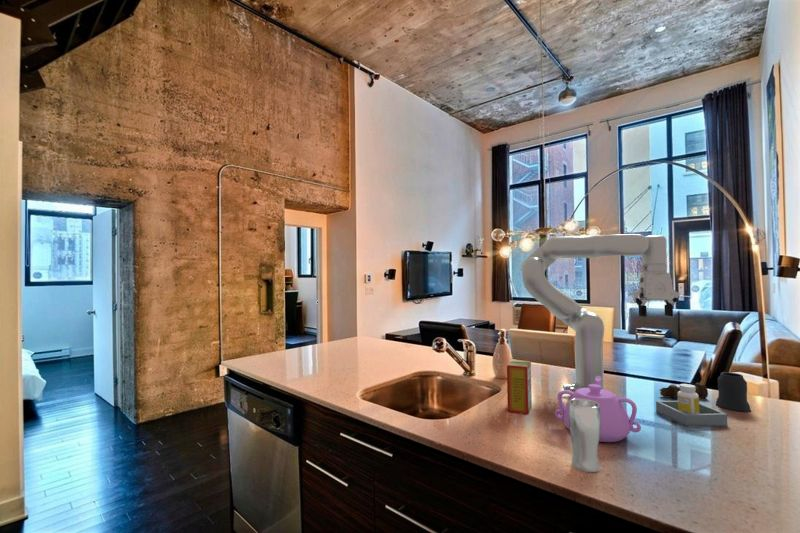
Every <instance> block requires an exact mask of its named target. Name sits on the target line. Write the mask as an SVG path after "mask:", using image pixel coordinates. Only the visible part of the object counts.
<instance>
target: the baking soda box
mask: <svg viewBox="0 0 800 533" xmlns="http://www.w3.org/2000/svg"><path fill="white" fill-rule="evenodd" d="M506 382H507V383H506V384H507V385H506V386H507V387H506V390H507V392H506V394H507V396H506V397H507V399H506V400H507V413H511V414H518V415H524V416H528V415H529V414H530V411H531V409H532V406H533V405H532V404H533V403H532V400H533V399H532V397H533V396H532V361H531V360H523V359H519V360H518V359H511V360H509V362H508V363H507V364H506Z"/></svg>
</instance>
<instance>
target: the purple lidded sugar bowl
mask: <svg viewBox="0 0 800 533" xmlns="http://www.w3.org/2000/svg"><path fill="white" fill-rule="evenodd" d="M588 386H589V388H580V389H577V390H576V391H575V392H572V391H570V390H564V389H563V390H560V392H558V394H557V403H558V406H559V408H558V409H556V410H555V412H554V415H555V418H557V419H558V420H561V421H563V422H564V425H565V426H567V428H568V429H569V430H570V427H569V401H570V400H572V399H587V400H592V401H595V402H597V403H598V404H599V405H600V406H599V407H600V416H601V433H600V439H599V443H615V442H620V441H622V440H623V439H625V438H626V437H627V436H629V434H630V432H632V433H635V434H636V433H639V432H641V430H642V425H641V424H640V423H639V422H637V421H635V420H636V416H637V411H638V408H637V405H636V403H635V402H634V401H633V400H632V399H631V398H629V397H628V398H627V397H624V396H623V397H618V396H616V394H615V393H614V392H612V391H609V390H607V389H604V390H603V389H602V386H601V377H600V376H597V377H596V378H595V382H594V384H590V385H588ZM563 395H570V397H569V399H568V401H567V403H566V405H565V406H564V403H563V398H562V397H563ZM623 402H624V403H627V404H629V405H630V406H631V408H632V410H631V414H630V417H629V416H628V412H627V410H626V409H625V407H624V405H623V404H622V403H623ZM560 414H561V415H560ZM634 426H636V427H634Z"/></svg>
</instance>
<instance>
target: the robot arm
mask: <svg viewBox="0 0 800 533" xmlns="http://www.w3.org/2000/svg"><path fill="white" fill-rule="evenodd" d="M667 255H668V253H667V237H666V236H665V235H661V234H660V235H659V234H658V235H655V234H654V235H647V236H644V235H642V234H639V233H637V234H636V233H629V234H628V233H626V234H607V235H606V234H602V235H601V234H599V235H597V234H596V235H595V234H594V235H593V234H592V235H569V236H567V235H566V236H564V235H563V236H562V235H561V236H560V235H559V236H552V237H550V238H549V239H547V240H546V241H544V242H543V243H542V244H541V245H540V246H539V247H538V248H537V249H536V250H534V252H532V253H531V254H530V255H529V256H528V257H527V258H526V259H525V260H523V261H522V264H521V265H520V270H521V274H522V276H521V277H522V283H523V286H524V288H525V289H526V292H527V293H529V294H528V295H530V296H531V297H533V298H534V299H535V300H536V301H537V302H539V303H540V304H541V305H542V306H544V307H545V308H546V309H547V310H548V311H549V313H551V314H552V315H553V316H554V317H555V318H557V319H558V320H560V321H561V322H562V323H564V324H565V325H567V326H568V327H569V328H571V329H572V330H573V331H575V337H574V338H575V339H574V355H575V356H574V360H575V361H574V362H575V363H574V365H575V366H574V367H575V381H573V382H572V383H571V384H563V385H562V389H563V390H570V391H572V392H575V391H576V390H577V389H580V388H589V386H588V385H590V384H594V382H595V378H596V377H597V376H600V377H601V386H602V389H603V390H605V379H604V378H605V375H604V336H605V335H604V334H605V324H604V321H603V319H602V318H601V316H599V315H598V314H597V313H595V312H593V311H590V310H588V309H586V308H585V307H583V306H582V305H580V304H579V303H578V302H576V300H575V299H574V298H573V297H572V296H570V295H568V294H566V293H565V292H563V291H562V290H561V289H559V288H558V287H557V286H555V285H554V284H552V283H551V282H550V281H549V280H548V279H547V277H546V274H545V273H546V270H547V269H548V268H549V267H550V266H552V265H553V264H554V263H555V262H556V261H557V260H558V259H592V258H593V259H594V258H602V257H607V256H611V257H612V256H625V257H633V256H641V266H639V270H641V273H640V276H639V284H638V289H636V290H635V291H633V292H632V293H630V296H631V297H632V299H633V301H634V302H635V303H636V305H637V306H638V315H639V317H644V318H645V317H647V316H648V315H647V313H648V312H647V310H648V309H647V308H648V307H647V305H646V304H647V303H648V301H663V302H664V303H665V304H664V316H667V317H673V316H674V305H676V304H675V303H676V302H677V301H678V298H679V296H680V292H678V291H676V290H674V287H673V281H672V277H671V274H670V272H668V262H667V258H668V257H667Z"/></svg>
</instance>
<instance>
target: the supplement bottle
mask: <svg viewBox="0 0 800 533" xmlns="http://www.w3.org/2000/svg"><path fill="white" fill-rule="evenodd" d="M679 387H680V390H681V391H679V392H678V393H677V396H678V398H677V401H678V410H679V411H681V412H683V413H685V414H700V411H699V403H700V397H699V396H698V394H697V393H695V391H696V388H695V386H694V384H689V383H680V384H679Z"/></svg>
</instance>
